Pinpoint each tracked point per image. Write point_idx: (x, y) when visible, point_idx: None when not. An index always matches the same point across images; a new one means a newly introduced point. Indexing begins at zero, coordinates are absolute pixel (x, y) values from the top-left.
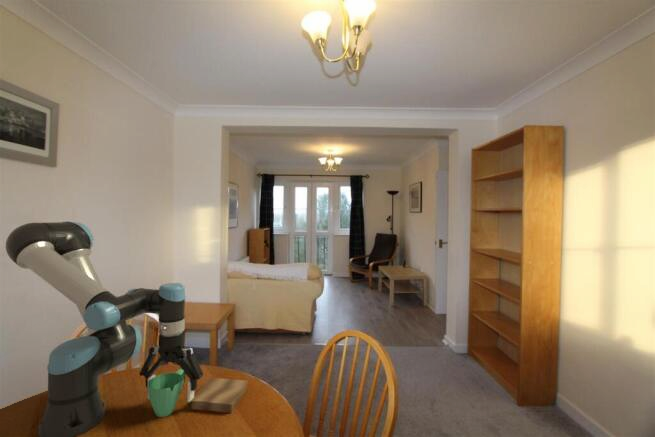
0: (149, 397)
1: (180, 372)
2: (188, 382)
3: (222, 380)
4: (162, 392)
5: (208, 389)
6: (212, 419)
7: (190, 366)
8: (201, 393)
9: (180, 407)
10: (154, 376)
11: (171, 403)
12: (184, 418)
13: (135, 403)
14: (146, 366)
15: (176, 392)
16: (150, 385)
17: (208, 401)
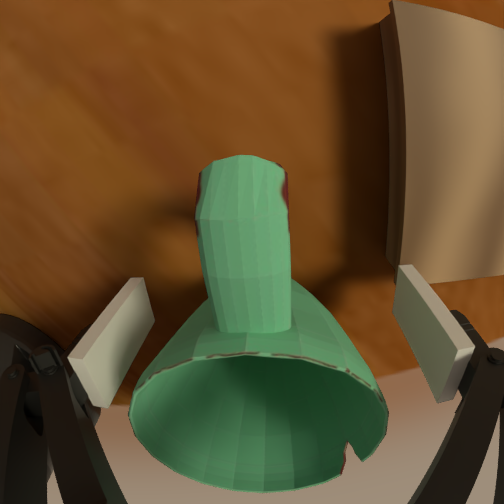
0: (150, 327)
1: (277, 282)
2: (439, 398)
3: (481, 42)
4: (305, 469)
5: (456, 157)
6: (486, 295)
7: (484, 449)
8: (434, 209)
9: (321, 256)
10: (91, 364)
11: (327, 370)
12: (383, 319)
13: (82, 273)
14: (43, 469)
15: (358, 400)
16: (158, 420)
17: (486, 272)
